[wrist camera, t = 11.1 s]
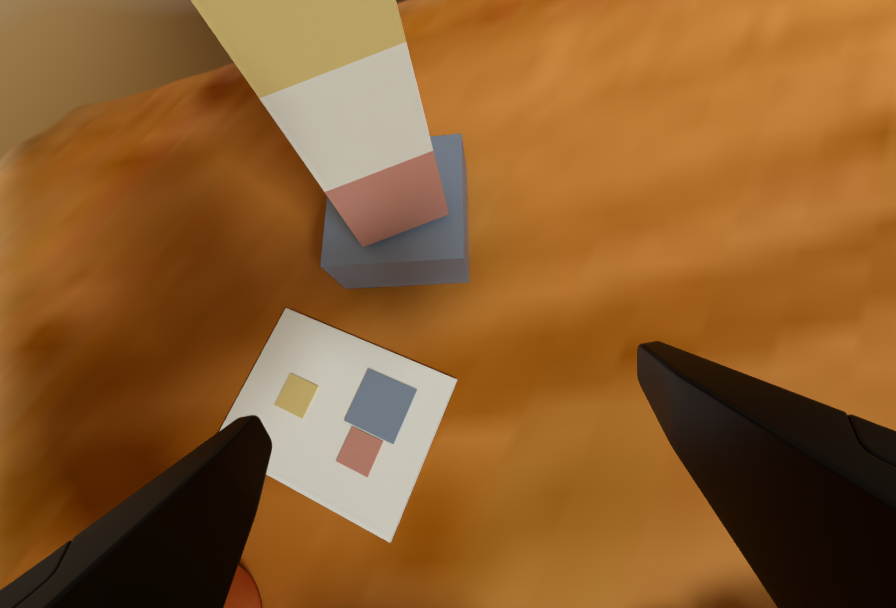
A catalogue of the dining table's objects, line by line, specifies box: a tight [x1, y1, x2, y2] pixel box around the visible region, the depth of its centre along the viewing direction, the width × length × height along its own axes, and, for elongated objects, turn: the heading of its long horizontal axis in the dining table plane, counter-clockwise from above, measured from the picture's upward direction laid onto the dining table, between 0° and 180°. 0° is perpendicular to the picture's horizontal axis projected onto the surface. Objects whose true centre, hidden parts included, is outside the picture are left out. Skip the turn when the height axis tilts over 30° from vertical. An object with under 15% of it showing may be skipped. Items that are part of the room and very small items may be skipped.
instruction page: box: [220, 308, 457, 543], centre depth 22 cm, size 12×9×1 cm
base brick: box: [320, 134, 469, 289], centre depth 24 cm, size 8×8×4 cm
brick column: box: [191, 0, 449, 247], centre depth 15 cm, size 5×5×14 cm
